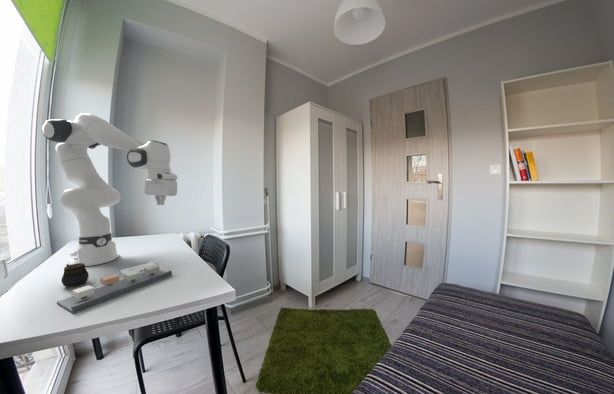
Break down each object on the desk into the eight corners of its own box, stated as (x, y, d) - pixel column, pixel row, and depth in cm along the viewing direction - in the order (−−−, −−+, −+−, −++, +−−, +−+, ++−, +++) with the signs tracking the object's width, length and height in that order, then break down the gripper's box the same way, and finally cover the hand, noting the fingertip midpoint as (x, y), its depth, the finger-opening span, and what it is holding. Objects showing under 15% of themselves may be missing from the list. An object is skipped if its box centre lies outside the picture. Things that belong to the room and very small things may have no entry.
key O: (73, 299, 70) (72, 290, 70) (89, 294, 73) (88, 285, 73) (78, 302, 68) (77, 292, 68) (94, 296, 72) (94, 287, 72)
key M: (143, 275, 89) (143, 267, 89) (154, 271, 92) (153, 264, 92) (149, 276, 87) (149, 269, 87) (159, 273, 91) (159, 266, 91)
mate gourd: (92, 279, 88) (90, 256, 88) (84, 286, 82) (82, 262, 81) (67, 283, 85) (66, 259, 84) (57, 291, 78) (55, 265, 77)
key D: (123, 282, 83) (123, 274, 82) (135, 278, 86) (135, 270, 86) (129, 284, 81) (128, 276, 81) (141, 279, 84) (140, 272, 84)
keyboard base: (56, 303, 70) (56, 297, 69) (154, 270, 97) (154, 266, 97) (73, 313, 64) (72, 307, 64) (171, 275, 91) (171, 270, 91)
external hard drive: (157, 268, 101) (123, 277, 91) (151, 264, 106) (119, 272, 96) (157, 265, 100) (123, 274, 91) (151, 261, 106) (119, 269, 96)
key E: (100, 286, 76) (99, 278, 76) (114, 282, 80) (113, 273, 80) (105, 288, 74) (105, 280, 74) (119, 284, 78) (119, 275, 78)
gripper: (139, 175, 100) (140, 204, 100) (165, 175, 91) (166, 206, 92) (154, 176, 105) (155, 203, 106) (179, 175, 97) (180, 205, 97)
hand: (160, 204), depth 99 cm, fingers closed
